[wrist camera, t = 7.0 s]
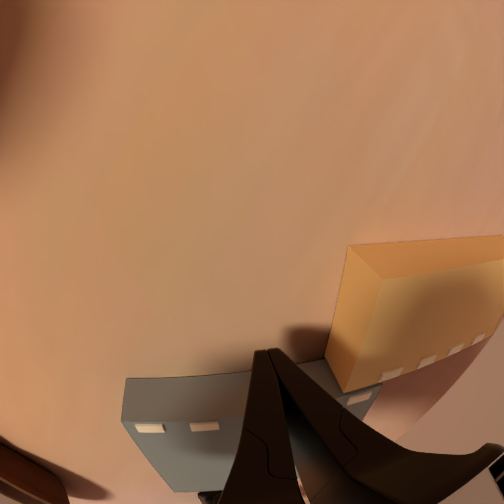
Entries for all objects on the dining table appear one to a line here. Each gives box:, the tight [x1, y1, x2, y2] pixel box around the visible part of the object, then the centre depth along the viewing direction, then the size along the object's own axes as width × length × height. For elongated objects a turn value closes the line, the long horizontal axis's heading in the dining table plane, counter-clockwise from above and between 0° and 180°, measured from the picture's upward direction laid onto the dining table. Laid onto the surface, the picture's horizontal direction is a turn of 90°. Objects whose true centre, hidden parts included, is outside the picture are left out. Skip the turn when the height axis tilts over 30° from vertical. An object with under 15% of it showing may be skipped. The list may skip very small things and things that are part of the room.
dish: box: [0, 445, 70, 504], centre depth 15 cm, size 18×22×5 cm
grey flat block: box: [121, 359, 383, 492], centre depth 15 cm, size 12×12×3 cm
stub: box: [324, 235, 504, 393], centre depth 12 cm, size 6×12×3 cm, turn 89°
